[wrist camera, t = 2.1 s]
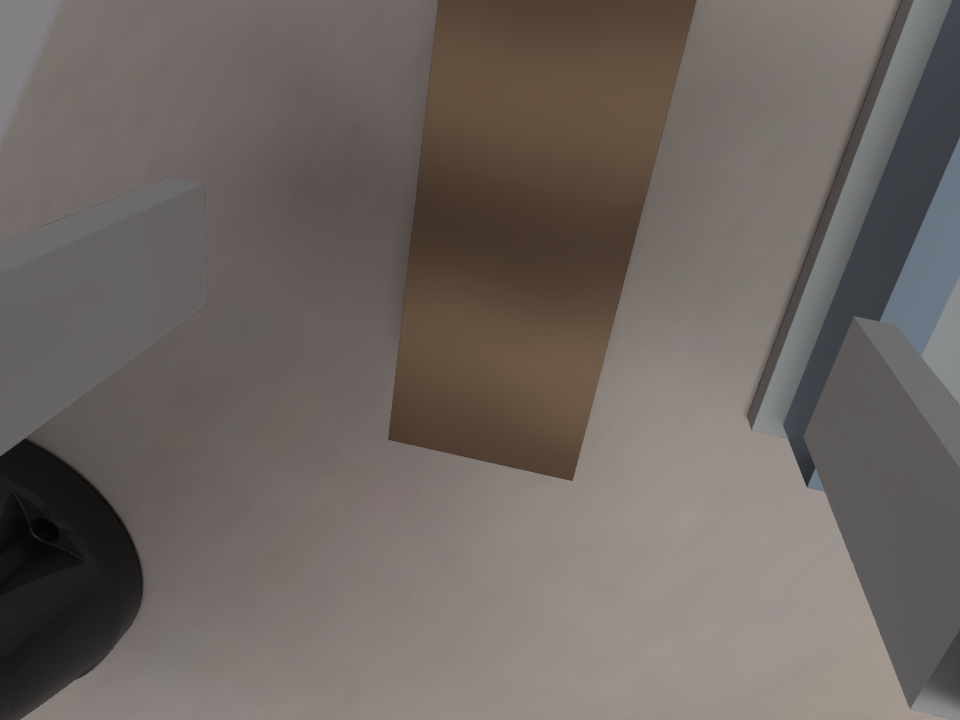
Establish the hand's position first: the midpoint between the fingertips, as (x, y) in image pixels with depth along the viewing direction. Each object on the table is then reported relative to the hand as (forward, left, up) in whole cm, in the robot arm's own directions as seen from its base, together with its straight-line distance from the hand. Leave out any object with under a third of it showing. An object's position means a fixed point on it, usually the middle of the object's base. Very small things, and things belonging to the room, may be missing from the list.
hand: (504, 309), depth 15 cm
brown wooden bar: (0, 0, -13) cm, 13 cm away
